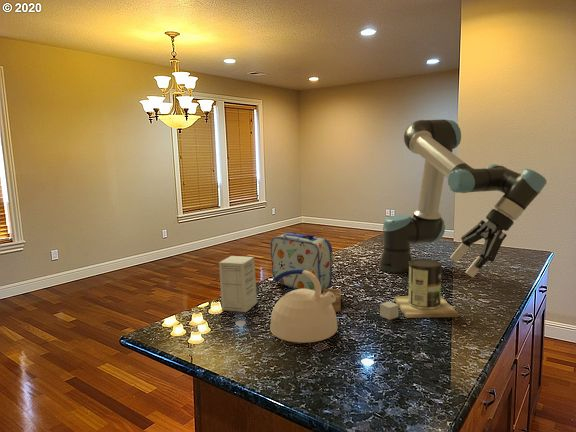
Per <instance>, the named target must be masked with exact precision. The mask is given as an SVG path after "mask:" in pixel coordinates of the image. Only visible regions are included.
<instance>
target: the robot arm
mask: <svg viewBox="0 0 576 432" xmlns="http://www.w3.org/2000/svg"><path fill="white" fill-rule="evenodd" d="M461 141H462V131H461V128H460V126H459V124H458V123H457V122H456V121H455V120H451V119H418V120H416V121H414V122H412V123H410V124H409V125H408V126H407V127H406V129H405V131H404V135H403V142H404V144H405V146H406V148H407V149H408V150H409V151H411V153H413V154H416V155H419V156H421V157H422V158H423V159H424V166H423V172H422V178H421V179H422V180H421V185H420V193H419V199H418V206H417V209H415V210H414V211H413V215H412V217H411V216H410V214H395V215H391V216H388V217H386V218H385V219H384V220H383V226H382V231H383V234H382V237H383V239H382V245H383V247H382V248H383V249H382V254H381V256H380V260H379V264H378V268H379V269H380V270H382V271H384V272H386V273H387V272H388V273H396V274H397V273H400V274H402V273H403V274H404V273H409V261H411V260H414V259H413V256H412V255H413V254H412V253H411V245H417V244H430V243H436V242H438V241H440V240H441V239H442V238H443V237H444V234H445V231H446V225H445V221H444V218H443V217H442V214H441V213H440V211H439V209H440V203H441V196H442V192H443V191H442V190H443V187H444V186H443V185H444V180H445V178H447V184H448V186H449V190H450V191H452V192H453V193H457V194H458V193H460V194H467V193H479V192H481V193H482V192H500V193H503V195H502V196H501V197H500V199H499V200H498V201H497V203H495V205H494V207H493V208H492V209H491V210H490V211H489V212H488V214H487V215H486V216H485V219H486V220H487V221H484V220H483V219H481V220H480V221H479V222H478V223H477V224H476V225H475V226H473V227H472V228H471V229H469V231H468V232H466V233H465V234H464V235H462V236H461V237H460V240H461V243H460V244H459V245H458V247H457V248H456V250H455V251H454V252H453V253H452V254H451V255H450V257H449V258H450V260H453V261H454V262H456V263H458V262H459V261H460V259H461V258H462V257H463V256H464V255H465V253H466V252H467V251H468V249H469V248H470V247H471V245H473V244H474V243H476V242H478V241H480V240H482V239H484V244H483V248H482V251H481V253H480V254H479V255H477V257H476V258H475V260H473V262H472V263H471V264H470V266H469V267H468V268H467V269H466V271H464V272H465V274H467V275H468V276H469V277H471V278H474V277H475V276H476V275H477V273H478V272H479V271H480V270H481V269H482V268H483V266H484V265H485V264H486V263H487V262H488V263H489V262H491V263H493V262H494V261H495V259H496V258H497V254H498V252H499V250H500V248H501V245H502V243H503V242H504V240H505V238H507V233H505V232H507V231H509V230H510V228H512V226H513V225H514V224H515V223H514V221H517V220H518V219H519V218H520V216H522V215H523V213H524V211H525V210H526V209H527V208H528V206H529V205H531V203H532V202H533V201H534V200H535V199H536V198H537V196H538V195H539V194H540V193H541V192H542V190H543V189H544V188H545V186H546V185H547V182H548V181H547V179H546V178H545V176H543V175H542V174H540V173H539V172H537V171H535V170H533V169H531V168H524V170H523V171H521V172H520V173H519V172H516V171H515V170H512V169H509V168H508V167H506V166H504V165H499V164H491V165H489V166H487V167H485V168H473V167H472V166H470V165H469V164H468V163H466V162H465V161H464V160H462V159H461V158H460V157H458V156H457V155H456V154H454V153H453V150H454V149H456V148H457V147H459V145H460V144H461ZM504 231H505V232H504Z"/></svg>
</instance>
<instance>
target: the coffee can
mask: <svg viewBox="0 0 576 432" xmlns="http://www.w3.org/2000/svg"><path fill="white" fill-rule="evenodd" d="M442 268H443V263H442V262H441V261H438V260H435V259H430V258H417V259H413V260H411V261H409V272H408V296H409V300H408V304H409V305H410V306H412V307H415V308H418V309H426V310H430V309H437V308H439V307H440V306H441V304H440V297H442V296H441V295H442V294H441V293H442V292H441V291H442Z"/></svg>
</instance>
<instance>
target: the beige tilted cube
mask: <svg viewBox="0 0 576 432" xmlns="http://www.w3.org/2000/svg"><path fill="white" fill-rule="evenodd" d="M399 309H400V307H399V305H398V304H397V303H396V302H391V301H390V300H389V301H385V302H382V303H379V316H380V317H382V318H384V319H387V320H389V321H391V320H393V319H396V318H399Z"/></svg>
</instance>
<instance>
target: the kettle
mask: <svg viewBox="0 0 576 432" xmlns="http://www.w3.org/2000/svg"><path fill="white" fill-rule="evenodd" d="M291 274H304V275H306V276H308V277H309V278H310V279H311V280H312V282H313V283H314V286H315V291H314V290H310V289H292V288H288V289H286V290H285V291H284V294H283V296H281V297H280V298H279V300H278V301H276V303H275V305H274V307H273V309H272V310H271V311H272V312H271V314H270V327H269V329H270V330H269V331H270V332H271V333H272V335H273V336H275V337H277V338H278V339H280V340H282V341H286V342H290V343H298V344H301V343H302V344H305V343H315V342H321V341H324V340H327V339H329V338H330V337H332V336H334V335H335V334H336V333H337V331H338V329H339V328H338V321H337V312H335V311H334V308H333V306H332V303H333V302H335V301H336V297H335V295H334V294H333V293H332V292H327V294H325V295H324V296H323V295H322V294H323V293H322V290H321V285H320V282H319V280H318V279H317V277H316V276H315V275H314V274H313V273H311V272H309V271H306V270H300V269H297V270H290V271H286V272H283V273H281V274H279V275H277V276H276V277H275V278H274V277H273V281H274V282H277V281H279V280H280V279H281V278H283V277H285V276H287V275H291Z"/></svg>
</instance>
